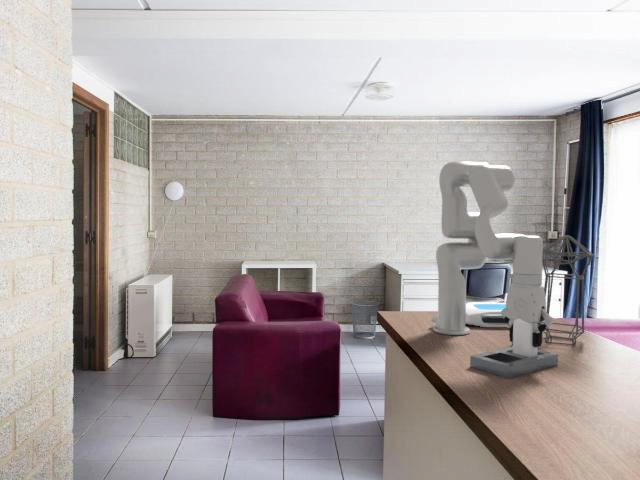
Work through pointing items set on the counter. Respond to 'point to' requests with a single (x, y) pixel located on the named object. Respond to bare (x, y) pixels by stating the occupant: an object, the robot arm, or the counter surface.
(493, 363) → the grey windowed frame
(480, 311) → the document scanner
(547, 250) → the geometric lantern
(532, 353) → the can
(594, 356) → the counter surface
